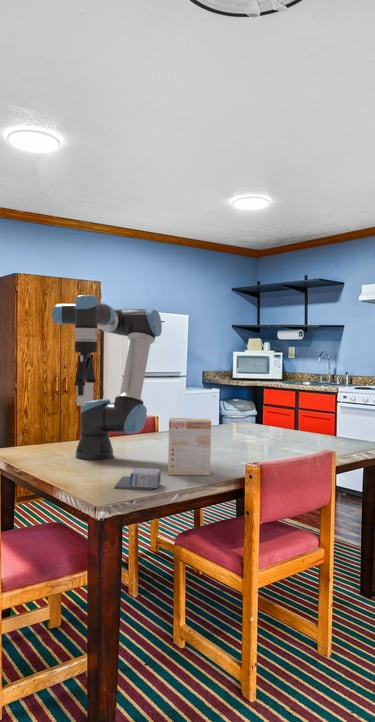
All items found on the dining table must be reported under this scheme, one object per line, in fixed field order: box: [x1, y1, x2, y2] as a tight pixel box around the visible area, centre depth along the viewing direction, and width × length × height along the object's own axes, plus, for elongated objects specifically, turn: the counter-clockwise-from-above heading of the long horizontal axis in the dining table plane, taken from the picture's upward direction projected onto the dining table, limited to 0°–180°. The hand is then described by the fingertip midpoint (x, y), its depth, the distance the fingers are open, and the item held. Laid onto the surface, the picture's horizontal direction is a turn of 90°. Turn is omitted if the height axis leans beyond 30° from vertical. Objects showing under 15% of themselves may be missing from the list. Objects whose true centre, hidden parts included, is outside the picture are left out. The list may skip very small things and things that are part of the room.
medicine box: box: [129, 467, 162, 489], centre depth 169 cm, size 8×4×9 cm
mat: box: [114, 475, 154, 491], centre depth 172 cm, size 14×12×1 cm
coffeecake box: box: [167, 417, 212, 476], centre depth 189 cm, size 15×7×20 cm, turn 92°
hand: (85, 403), depth 180 cm, fingers open, 13 cm apart
